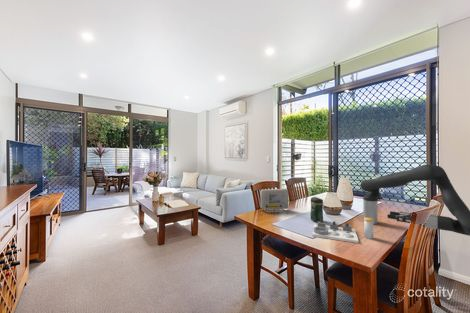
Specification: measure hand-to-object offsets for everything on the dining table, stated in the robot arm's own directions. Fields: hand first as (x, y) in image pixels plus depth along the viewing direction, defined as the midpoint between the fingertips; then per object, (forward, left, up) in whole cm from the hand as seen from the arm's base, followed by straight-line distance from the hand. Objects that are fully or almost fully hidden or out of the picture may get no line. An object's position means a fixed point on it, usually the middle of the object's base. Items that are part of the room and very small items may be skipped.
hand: (388, 214), depth 122 cm
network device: (-40, -80, -17) cm, 91 cm away
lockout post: (-4, -10, -17) cm, 20 cm away
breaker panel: (-2, -30, -17) cm, 34 cm away
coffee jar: (-25, -42, -17) cm, 51 cm away
